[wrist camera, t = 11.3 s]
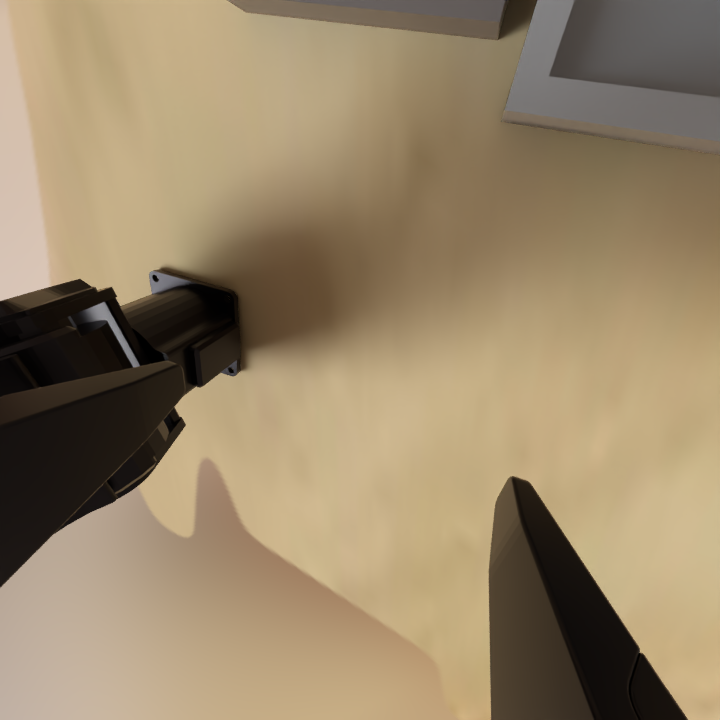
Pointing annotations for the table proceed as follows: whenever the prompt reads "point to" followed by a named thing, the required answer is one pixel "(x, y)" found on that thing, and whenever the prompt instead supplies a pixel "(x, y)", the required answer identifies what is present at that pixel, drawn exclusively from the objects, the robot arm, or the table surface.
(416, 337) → the table surface
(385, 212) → the table surface
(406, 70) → the table surface
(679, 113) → the parts tray
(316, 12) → the socket collar
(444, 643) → the table surface
